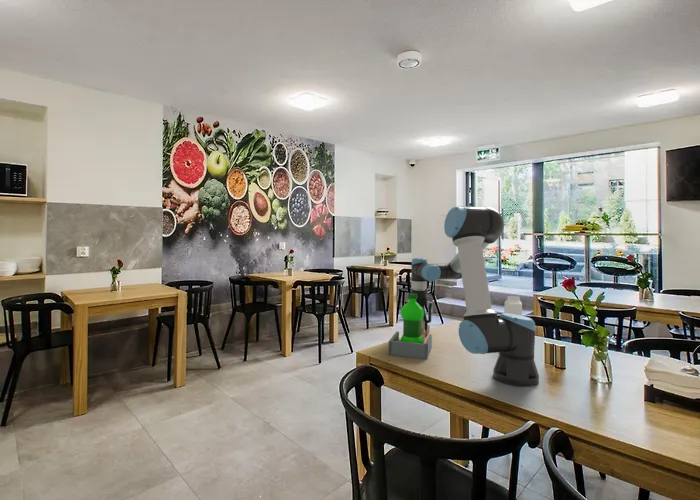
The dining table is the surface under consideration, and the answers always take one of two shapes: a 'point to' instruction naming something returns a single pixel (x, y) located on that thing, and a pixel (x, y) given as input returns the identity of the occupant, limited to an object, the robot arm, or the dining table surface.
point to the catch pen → (409, 347)
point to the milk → (513, 305)
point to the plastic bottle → (412, 320)
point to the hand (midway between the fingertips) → (418, 335)
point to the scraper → (425, 330)
